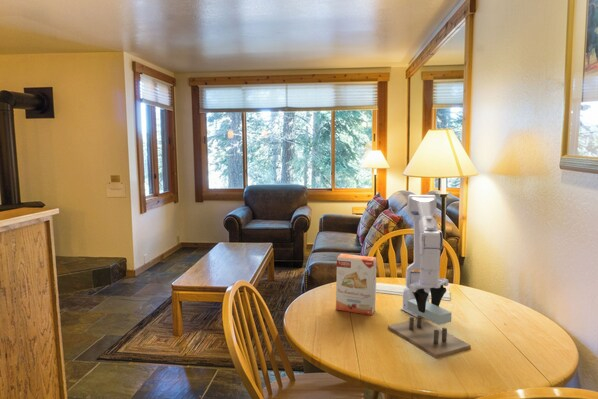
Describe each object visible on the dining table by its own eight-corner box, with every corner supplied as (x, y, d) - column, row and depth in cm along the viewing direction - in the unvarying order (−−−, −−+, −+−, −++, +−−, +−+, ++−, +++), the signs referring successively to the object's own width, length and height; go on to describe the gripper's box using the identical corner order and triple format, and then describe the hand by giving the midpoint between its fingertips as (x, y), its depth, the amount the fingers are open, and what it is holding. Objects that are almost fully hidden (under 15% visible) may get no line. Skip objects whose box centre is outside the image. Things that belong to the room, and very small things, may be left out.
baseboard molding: (450, 303, 160) (449, 294, 171) (450, 296, 160) (449, 287, 171) (372, 294, 170) (376, 285, 181) (372, 287, 170) (376, 279, 181)
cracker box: (335, 310, 151) (336, 256, 149) (339, 305, 157) (340, 252, 154) (372, 316, 146) (373, 260, 143) (375, 310, 151) (376, 256, 149)
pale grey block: (407, 309, 133) (407, 300, 133) (419, 306, 135) (419, 297, 135) (439, 325, 120) (439, 315, 120) (451, 321, 123) (451, 312, 122)
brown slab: (387, 328, 136) (388, 314, 135) (419, 321, 142) (420, 307, 141) (436, 358, 116) (436, 341, 115) (470, 348, 122) (471, 332, 121)
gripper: (421, 275, 119) (419, 318, 121) (456, 269, 126) (454, 310, 127) (405, 269, 126) (403, 310, 127) (439, 263, 132) (438, 303, 134)
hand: (428, 310), depth 128 cm, fingers closed on pale grey block, 5 cm apart
